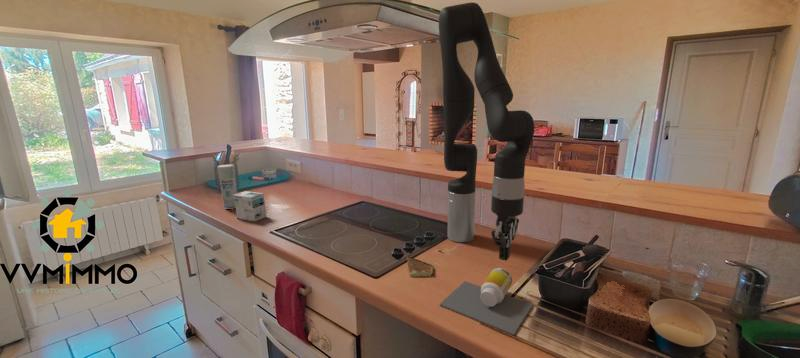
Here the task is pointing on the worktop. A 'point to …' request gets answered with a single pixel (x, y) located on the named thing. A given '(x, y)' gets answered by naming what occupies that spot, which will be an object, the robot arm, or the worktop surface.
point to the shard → (419, 267)
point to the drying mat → (487, 308)
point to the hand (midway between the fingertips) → (504, 258)
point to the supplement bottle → (495, 287)
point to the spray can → (227, 185)
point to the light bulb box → (250, 206)
